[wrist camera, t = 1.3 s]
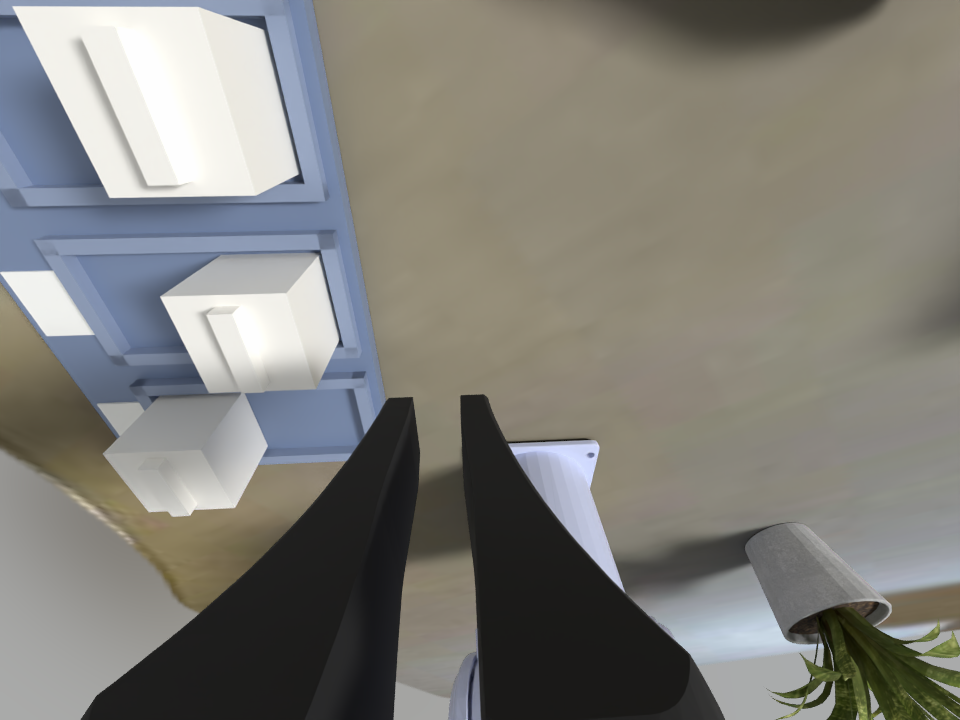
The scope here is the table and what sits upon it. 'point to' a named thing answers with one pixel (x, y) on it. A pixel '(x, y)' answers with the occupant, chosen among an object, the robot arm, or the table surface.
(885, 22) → the table surface
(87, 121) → the white box
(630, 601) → the robot arm
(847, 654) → the house plant
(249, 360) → the white block
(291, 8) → the blue compartment tray
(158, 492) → the white block
